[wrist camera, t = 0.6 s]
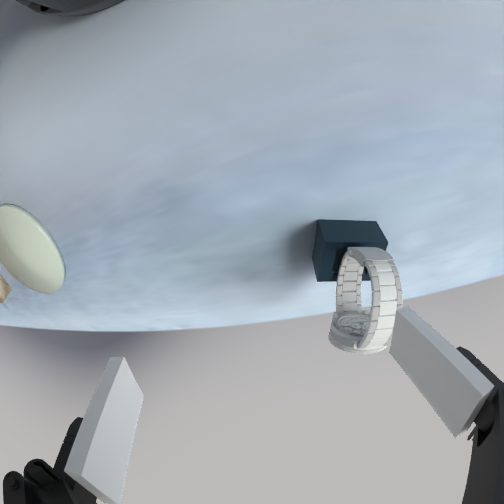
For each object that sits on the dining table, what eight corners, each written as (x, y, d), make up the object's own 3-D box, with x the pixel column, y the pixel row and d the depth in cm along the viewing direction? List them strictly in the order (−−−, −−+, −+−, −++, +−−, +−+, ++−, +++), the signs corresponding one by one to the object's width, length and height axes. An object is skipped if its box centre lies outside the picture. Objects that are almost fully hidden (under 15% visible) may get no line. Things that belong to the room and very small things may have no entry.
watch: (309, 273, 27) (326, 374, 19) (320, 201, 22) (356, 306, 13) (361, 272, 27) (391, 366, 18) (381, 204, 22) (438, 300, 13)
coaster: (-20, 219, 23) (-24, 222, 22) (26, 189, 21) (21, 193, 20) (28, 292, 31) (25, 295, 31) (84, 285, 29) (81, 290, 29)
